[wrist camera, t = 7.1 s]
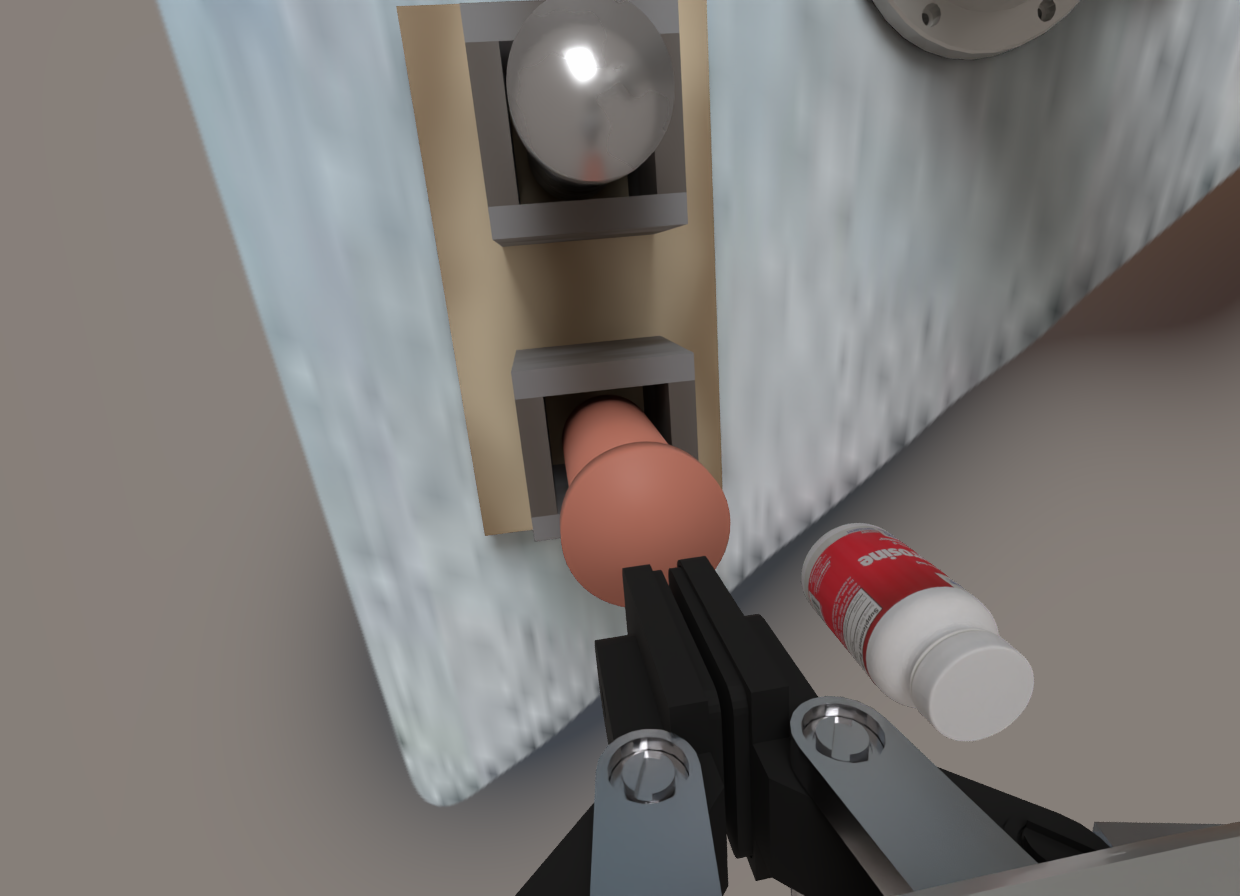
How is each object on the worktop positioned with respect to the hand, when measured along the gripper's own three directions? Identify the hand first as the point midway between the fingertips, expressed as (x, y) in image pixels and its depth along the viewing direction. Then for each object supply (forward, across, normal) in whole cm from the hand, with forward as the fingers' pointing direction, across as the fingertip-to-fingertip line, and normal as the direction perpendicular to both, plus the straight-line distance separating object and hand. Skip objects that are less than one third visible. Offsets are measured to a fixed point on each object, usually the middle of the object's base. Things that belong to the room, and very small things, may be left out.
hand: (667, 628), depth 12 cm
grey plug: (+16, -1, -12) cm, 20 cm away
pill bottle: (+19, -14, +11) cm, 26 cm away
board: (+19, 0, -6) cm, 20 cm away
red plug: (+12, 0, -1) cm, 13 cm away
